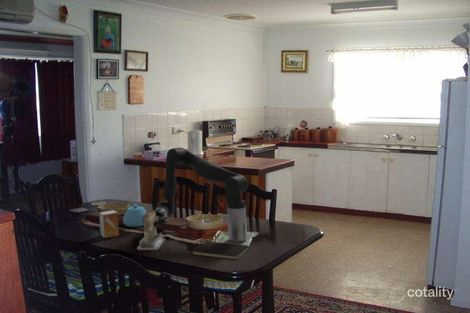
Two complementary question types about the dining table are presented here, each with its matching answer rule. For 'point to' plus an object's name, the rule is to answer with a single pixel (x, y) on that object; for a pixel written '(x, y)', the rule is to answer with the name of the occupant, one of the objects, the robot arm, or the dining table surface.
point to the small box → (109, 224)
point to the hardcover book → (220, 250)
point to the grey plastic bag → (153, 245)
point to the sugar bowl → (134, 216)
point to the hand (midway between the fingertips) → (150, 224)
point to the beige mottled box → (149, 226)
